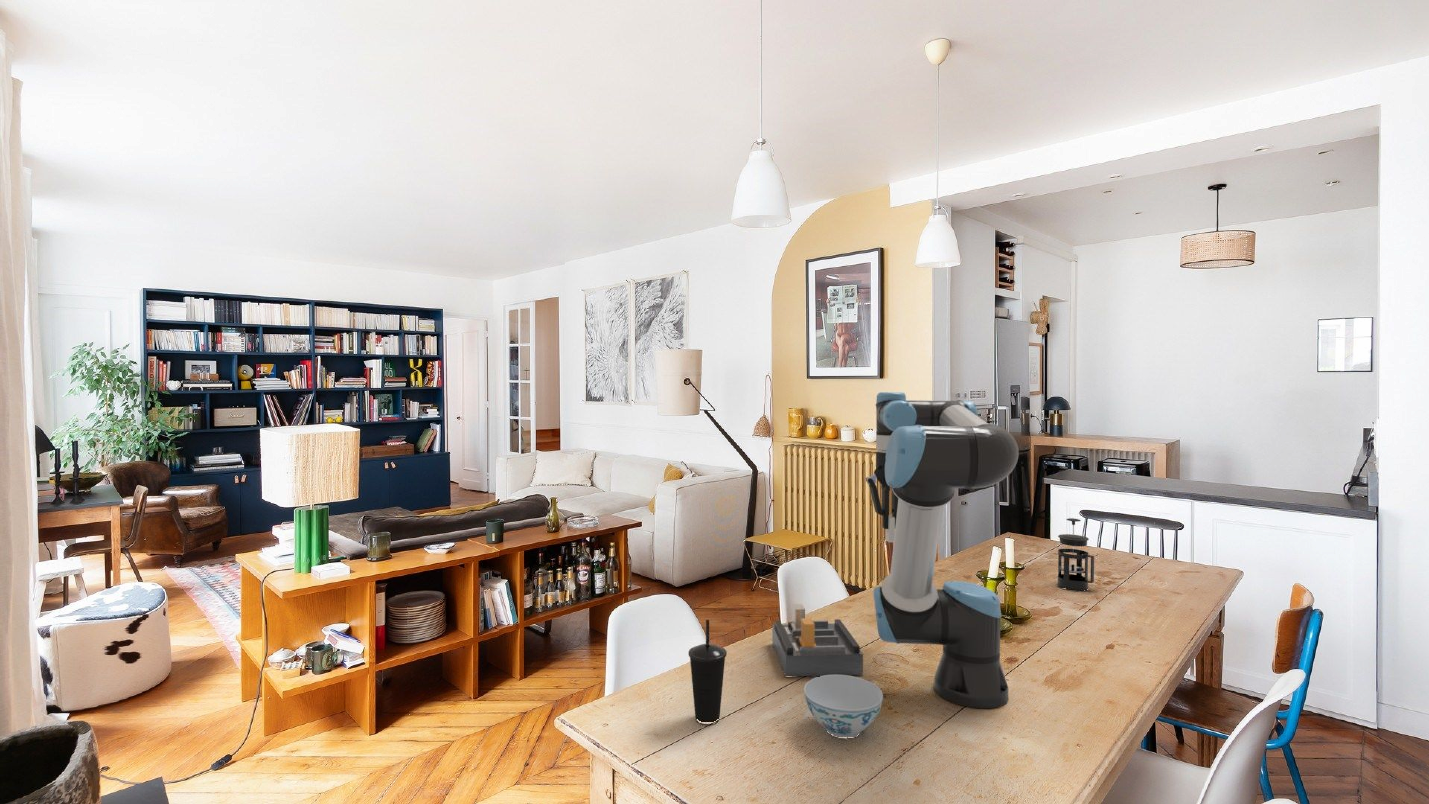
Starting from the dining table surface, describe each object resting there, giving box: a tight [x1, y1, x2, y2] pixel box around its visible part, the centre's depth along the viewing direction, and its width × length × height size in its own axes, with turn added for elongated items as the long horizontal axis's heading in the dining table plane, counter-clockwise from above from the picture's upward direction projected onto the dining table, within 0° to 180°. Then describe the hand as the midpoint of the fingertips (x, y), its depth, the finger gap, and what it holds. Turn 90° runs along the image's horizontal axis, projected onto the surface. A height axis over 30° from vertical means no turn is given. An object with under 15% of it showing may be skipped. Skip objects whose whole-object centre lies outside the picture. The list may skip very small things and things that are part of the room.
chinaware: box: [803, 675, 884, 738], centre depth 129 cm, size 15×15×8 cm
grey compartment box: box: [771, 603, 864, 676], centre depth 163 cm, size 20×18×11 cm
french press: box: [1056, 517, 1095, 592], centre depth 221 cm, size 12×9×23 cm
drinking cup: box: [688, 619, 727, 722], centre depth 133 cm, size 8×8×20 cm
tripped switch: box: [799, 617, 816, 646], centre depth 158 cm, size 5×3×6 cm
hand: (890, 541), depth 174 cm, fingers closed
